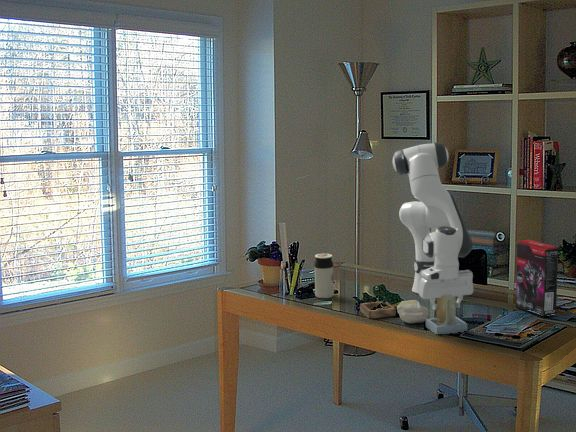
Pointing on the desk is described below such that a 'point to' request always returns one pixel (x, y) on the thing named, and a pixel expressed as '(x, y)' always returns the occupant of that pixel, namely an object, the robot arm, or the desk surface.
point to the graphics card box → (536, 277)
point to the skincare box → (446, 310)
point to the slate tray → (446, 326)
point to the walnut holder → (367, 311)
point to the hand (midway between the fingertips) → (446, 308)
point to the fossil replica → (412, 311)
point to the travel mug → (324, 276)
